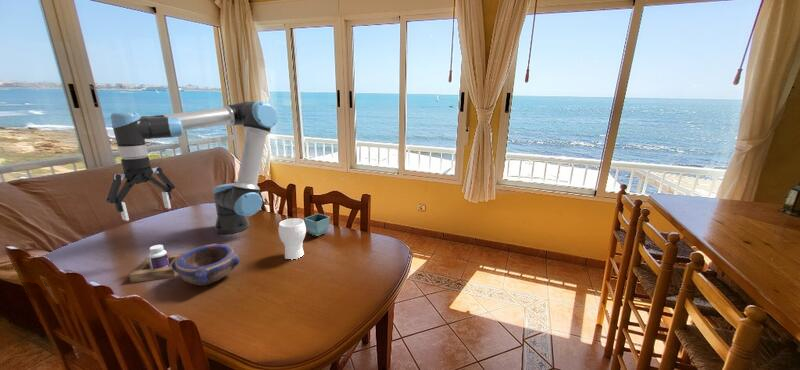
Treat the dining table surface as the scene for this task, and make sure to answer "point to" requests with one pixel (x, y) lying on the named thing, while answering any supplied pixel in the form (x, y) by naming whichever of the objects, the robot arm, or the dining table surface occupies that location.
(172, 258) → the brown square frame
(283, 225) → the cup
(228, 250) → the bowl
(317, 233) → the flower pot
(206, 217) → the dining table surface
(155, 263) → the pill bottle
